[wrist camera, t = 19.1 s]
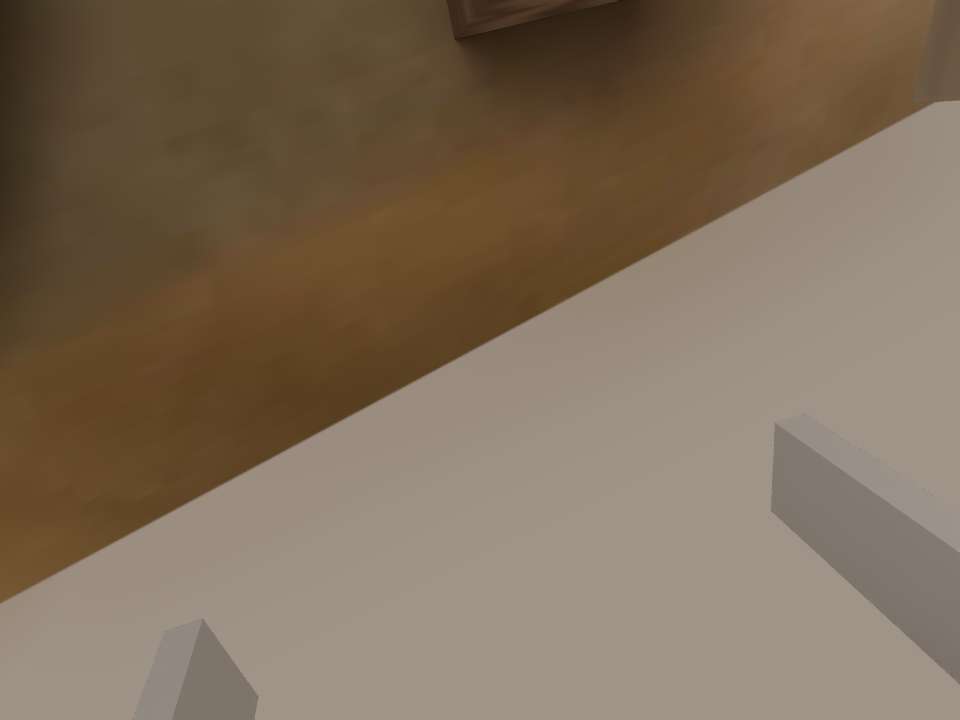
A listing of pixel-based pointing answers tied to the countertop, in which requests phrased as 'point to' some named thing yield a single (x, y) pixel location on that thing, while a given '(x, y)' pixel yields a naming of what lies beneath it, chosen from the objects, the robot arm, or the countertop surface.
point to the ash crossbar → (941, 56)
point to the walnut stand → (507, 13)
